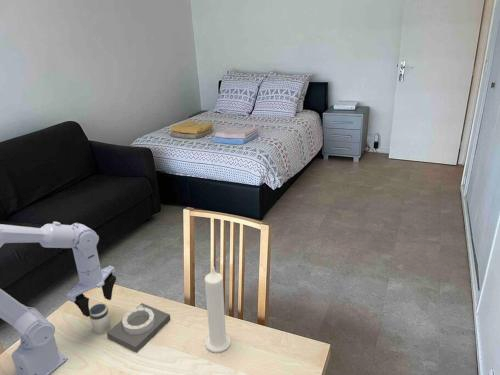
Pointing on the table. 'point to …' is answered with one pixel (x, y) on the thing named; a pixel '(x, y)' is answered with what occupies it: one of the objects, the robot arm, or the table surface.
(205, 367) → the table surface
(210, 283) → the candle
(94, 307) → the lens
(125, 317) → the camera body
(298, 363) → the table surface
